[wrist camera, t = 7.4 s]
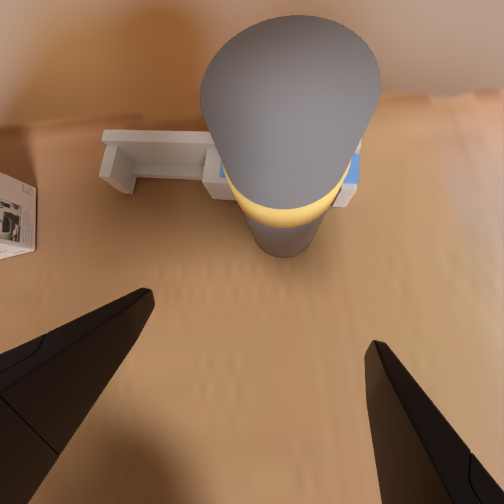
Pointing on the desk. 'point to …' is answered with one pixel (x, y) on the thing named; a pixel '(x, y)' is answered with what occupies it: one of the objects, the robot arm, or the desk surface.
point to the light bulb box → (16, 217)
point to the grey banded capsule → (289, 121)
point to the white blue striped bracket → (182, 161)
